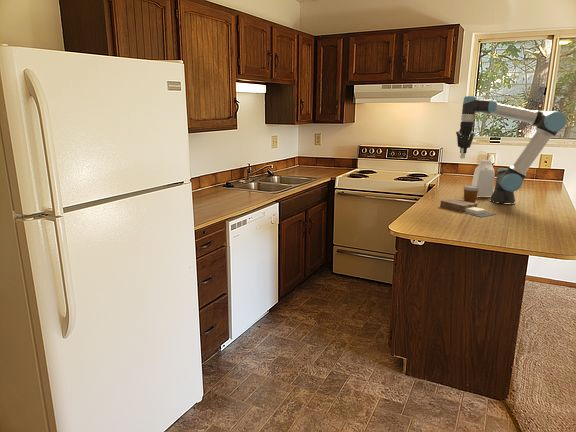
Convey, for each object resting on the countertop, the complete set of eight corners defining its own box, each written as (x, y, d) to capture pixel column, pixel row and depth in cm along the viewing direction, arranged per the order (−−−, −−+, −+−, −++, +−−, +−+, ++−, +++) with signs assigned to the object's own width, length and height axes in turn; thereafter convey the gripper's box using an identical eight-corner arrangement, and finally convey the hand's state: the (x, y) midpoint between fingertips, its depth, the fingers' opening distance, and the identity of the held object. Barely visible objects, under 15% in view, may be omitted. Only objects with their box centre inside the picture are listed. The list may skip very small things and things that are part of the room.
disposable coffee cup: (463, 202, 286) (465, 184, 283) (478, 204, 281) (480, 186, 278) (459, 204, 278) (462, 186, 275) (475, 206, 273) (477, 188, 270)
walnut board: (454, 204, 278) (454, 198, 277) (476, 210, 265) (477, 203, 264) (440, 206, 270) (440, 200, 269) (462, 212, 257) (462, 205, 256)
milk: (486, 194, 314) (491, 159, 308) (492, 198, 303) (497, 161, 296) (469, 194, 315) (474, 158, 309) (474, 197, 304) (480, 160, 297)
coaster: (473, 209, 263) (473, 206, 262) (485, 212, 256) (485, 209, 256) (465, 211, 259) (465, 208, 258) (476, 214, 252) (477, 210, 251)
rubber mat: (478, 210, 264) (478, 209, 264) (496, 214, 254) (496, 213, 254) (463, 212, 256) (463, 212, 256) (481, 217, 246) (481, 216, 246)
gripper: (454, 120, 275) (450, 157, 281) (472, 121, 265) (467, 159, 270) (461, 120, 279) (457, 157, 285) (479, 121, 269) (474, 159, 274)
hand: (462, 158), depth 278 cm, fingers closed
